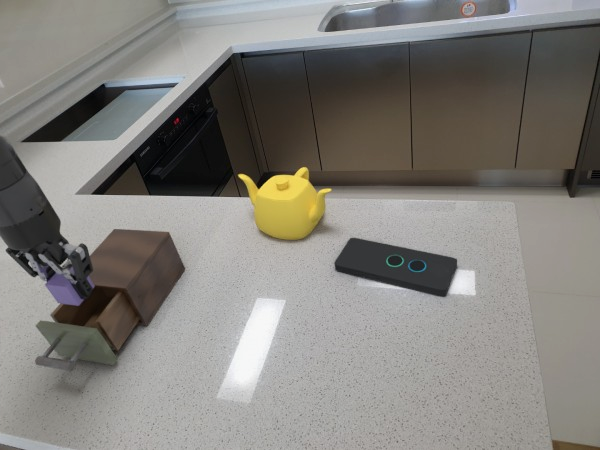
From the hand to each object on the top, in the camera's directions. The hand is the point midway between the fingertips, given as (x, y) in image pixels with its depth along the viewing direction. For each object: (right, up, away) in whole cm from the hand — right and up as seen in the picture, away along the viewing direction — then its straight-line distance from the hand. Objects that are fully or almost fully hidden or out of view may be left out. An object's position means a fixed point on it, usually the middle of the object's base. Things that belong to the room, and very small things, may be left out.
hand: (75, 293), depth 73 cm
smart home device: (+53, +3, +8) cm, 53 cm away
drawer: (+2, -9, +6) cm, 10 cm away
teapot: (+35, +12, +25) cm, 45 cm away
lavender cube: (0, 0, 0) cm, 0 cm away
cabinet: (+5, -2, +15) cm, 16 cm away
